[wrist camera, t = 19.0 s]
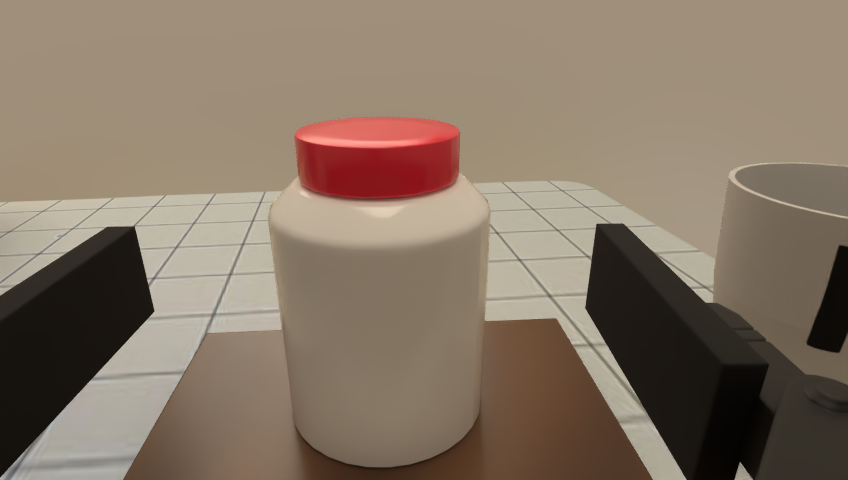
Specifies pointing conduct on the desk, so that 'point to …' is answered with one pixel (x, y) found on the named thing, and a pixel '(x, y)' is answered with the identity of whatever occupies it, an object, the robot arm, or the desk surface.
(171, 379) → the desk surface
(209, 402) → the walnut board
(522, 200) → the desk surface
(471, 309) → the pill bottle
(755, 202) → the cup
